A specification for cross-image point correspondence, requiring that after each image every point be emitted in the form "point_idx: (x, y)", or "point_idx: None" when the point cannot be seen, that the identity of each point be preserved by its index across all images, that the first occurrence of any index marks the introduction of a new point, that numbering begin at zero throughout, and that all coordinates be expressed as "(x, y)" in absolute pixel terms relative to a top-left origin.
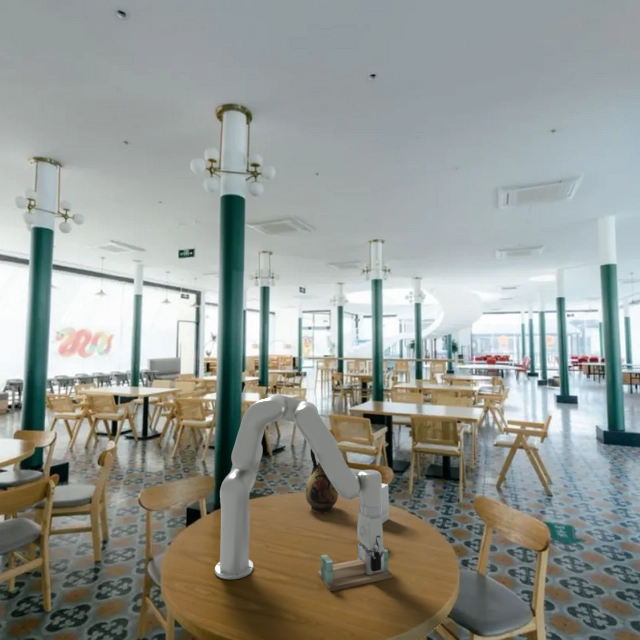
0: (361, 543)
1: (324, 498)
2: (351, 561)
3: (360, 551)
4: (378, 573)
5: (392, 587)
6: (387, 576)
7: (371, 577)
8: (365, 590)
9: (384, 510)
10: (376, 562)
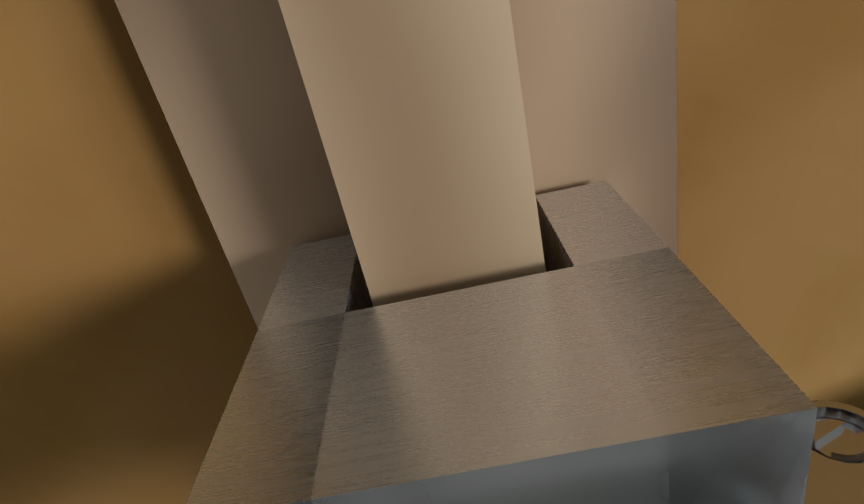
0: (836, 489)
1: None
2: (491, 49)
3: (585, 351)
4: None
5: (145, 425)
6: None
7: (256, 281)
8: (37, 126)
9: None
10: None
